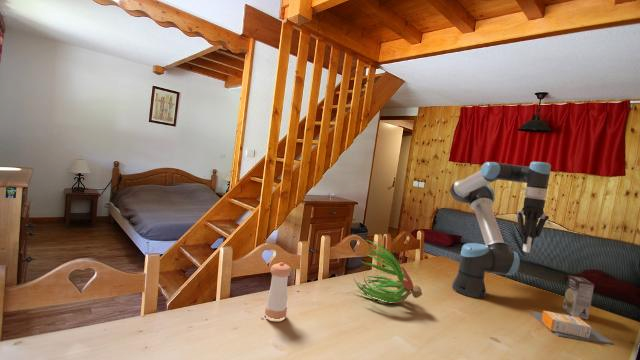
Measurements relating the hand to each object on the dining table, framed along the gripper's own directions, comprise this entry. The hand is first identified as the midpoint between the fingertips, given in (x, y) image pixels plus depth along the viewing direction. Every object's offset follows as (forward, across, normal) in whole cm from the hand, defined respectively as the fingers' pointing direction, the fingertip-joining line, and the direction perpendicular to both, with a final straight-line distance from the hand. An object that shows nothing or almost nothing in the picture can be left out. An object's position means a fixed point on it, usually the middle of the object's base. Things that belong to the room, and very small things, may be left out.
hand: (526, 251), depth 141 cm
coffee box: (+27, +29, +6) cm, 40 cm away
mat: (+26, +15, -11) cm, 32 cm away
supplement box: (+23, +4, -14) cm, 27 cm away
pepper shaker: (+27, -100, -38) cm, 110 cm away
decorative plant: (+27, -60, -11) cm, 67 cm away
